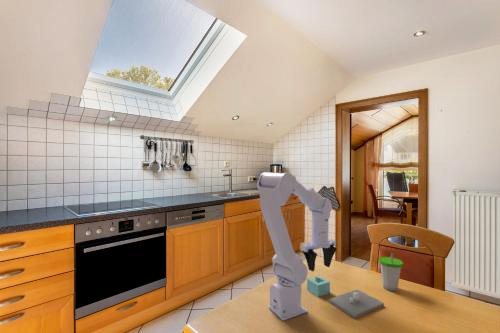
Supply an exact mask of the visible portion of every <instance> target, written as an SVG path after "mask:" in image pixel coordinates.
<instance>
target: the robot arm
mask: <svg viewBox="0 0 500 333" xmlns="http://www.w3.org/2000/svg"><path fill="white" fill-rule="evenodd" d="M256 188H257V191H258V193H259V205H260V211H261V214H262V216H263V220H264V222H265V225H266V229H267V232H268V235H269V237H270V240H271V243H272V247H273V250H274V252H275V254H274V255H273V257H272V258H271V261H272V272H273V273H274V275H275V276H276V280H277V281H276V282H275V283H273V284H271V285H270V288H269V305H268V308H269V310H271V311H272V313H274V314H275V315H276V317H278V318H279V319H280V320H281V321H286V320H289V319H292V318H294V317H296V316H300V315H302V314H305V313H307V312H308V310H307V309H306V307H304V306H303V305H302V285H303V284H304V283H305V282H306V281H307V279H308V270H309V271H311V272H315V268H316V260H317V256H318V253H317V252H315V251H314V250H319V249H322V254H323V264H324V266H325V267H327V268H330V266H331V264H332V260H333V258H334V255H335V254H336V252H337V247H336V245H337V240H335V239H332V238H330V239H329V219H330V217H331V212H332V208H333V205H332V201H331V200H330V199H329V198H328V197H324V196H322V194H321V193H318V192H316V190H315V188H314V187H304V185H303V184H301V183H300V182H299V181H298V180H297V177H296V175H293V174H292V173H290V172H269V171H264V172H262V173H261V174H260V175H259V178H258V180H257V182H256ZM292 194H293V195H295V196H297V197H298V198H299V201H300V202H301V203H302V204H303V205H304V206H306V207H308V210H309V212H311V241H309V242H307V243H306V244H305V243H304V244H302V245H301V246H302V247H301V251H302V253H303V255H304V258H305V261H306V264H307V265H306V264H305V263H304V261H303V259H302V258H301V257H300V255H298V254H297V253H296V252H295V250H294V248H293V244H292V241H291V240H292V239H291V238H290V235H289V231H288V228H287V225H286V221H285V218H284V215H283V211H282V209H281V208H282V207H283V206H285V205H286V203H287V202H288V200H289V199H290V197H291V195H292Z"/></svg>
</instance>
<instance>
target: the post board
mask: <svg viewBox="0 0 500 333" xmlns="http://www.w3.org/2000/svg"><path fill="white" fill-rule="evenodd" d="M328 303H329V304H331V305H333V306H334V307H336V308H337V309H338V310H340V311H342V312H343V313H345V314H346V315H347V316H349V317H351V318H353V319H354V320H356V319H357V318H360V317H361V316H364V315H366V314H368V313H371V312H374V311H376V310H378V309H381V308H383V307H384V306H385V303H384V302H383V301H381V300H379V299H377V298H375V297H373V296H371V295H369V294H368V293H365V292H363V291H362V290H359V289H354V290H351V291H348V292H346V293H342V294H340V295H337V296H333V297H331V298H328Z"/></svg>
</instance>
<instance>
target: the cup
mask: <svg viewBox="0 0 500 333" xmlns="http://www.w3.org/2000/svg"><path fill="white" fill-rule="evenodd" d="M378 258H379V259H378V263H379V264H380V272H381V273H380V274H381V279H382V280H381V282H382V288H383V289H384V290H387V291H388V292H397V291H398V289H399V288H398V286H399V281H400V275H401V270H402V267H403V265H404V261H402V260H400V259H397V258H396V257H394V251H391V254H390V256H382V257H378Z"/></svg>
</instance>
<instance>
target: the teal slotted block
mask: <svg viewBox="0 0 500 333" xmlns="http://www.w3.org/2000/svg"><path fill="white" fill-rule="evenodd" d="M306 290H307V291H308V292H310V293H312V294H313V295H314V296H316V297H322V296H325V295H328V294H330V292H331V281H329V280H327V279H326V278H324V277H322V276H320V275H316V276H314V278H312V277H309V278H308V277H307V278H306Z"/></svg>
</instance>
